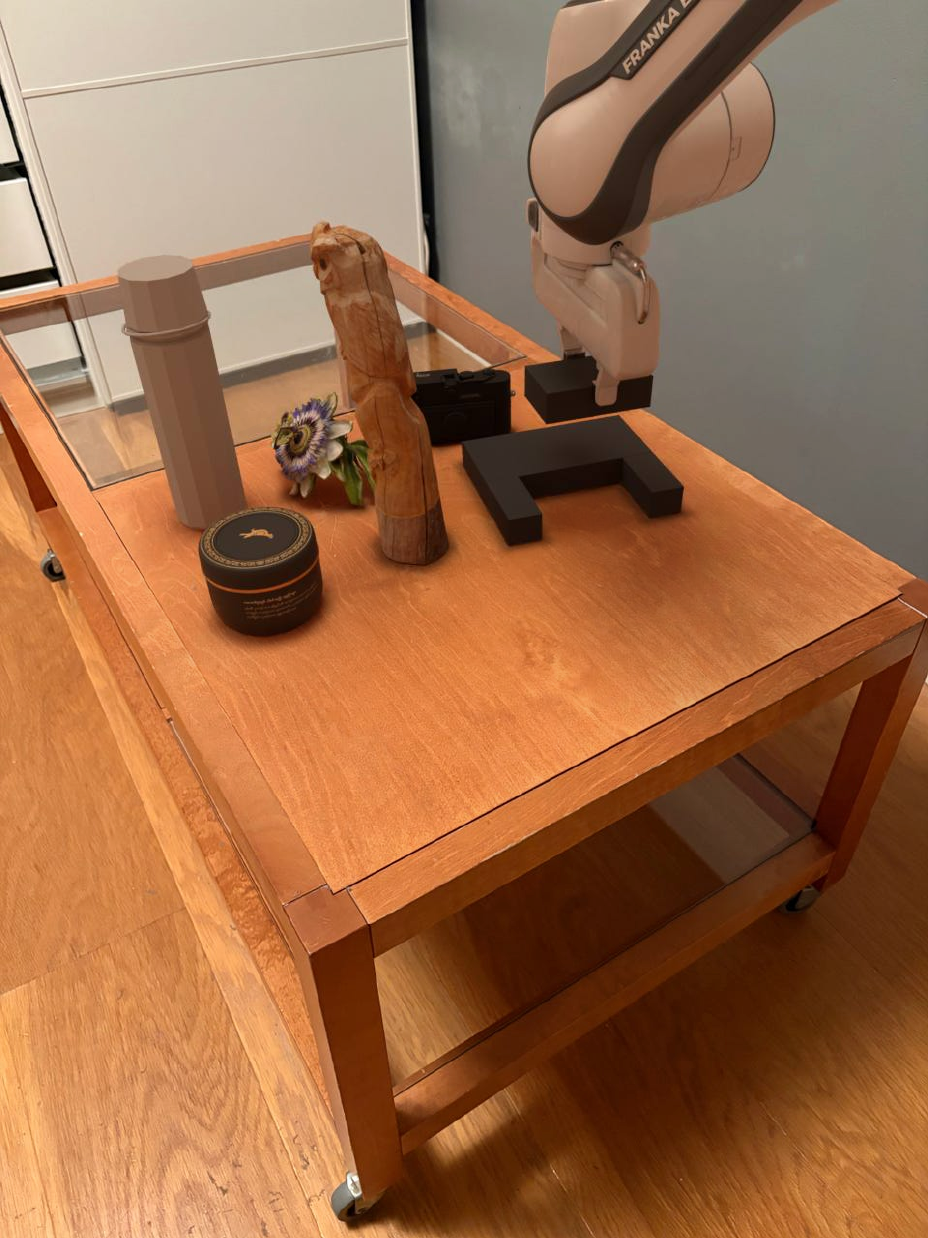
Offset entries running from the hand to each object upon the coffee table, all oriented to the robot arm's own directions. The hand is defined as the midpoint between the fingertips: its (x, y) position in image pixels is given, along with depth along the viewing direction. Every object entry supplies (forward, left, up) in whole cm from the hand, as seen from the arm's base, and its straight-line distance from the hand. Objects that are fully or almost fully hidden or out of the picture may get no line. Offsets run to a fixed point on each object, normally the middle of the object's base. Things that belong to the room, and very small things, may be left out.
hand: (587, 384), depth 86 cm
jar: (+32, +5, -14) cm, 35 cm away
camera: (+8, -21, -14) cm, 26 cm away
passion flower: (+22, -14, -14) cm, 30 cm away
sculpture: (+19, 0, -14) cm, 23 cm away
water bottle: (+35, -13, -14) cm, 40 cm away
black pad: (0, 0, -2) cm, 2 cm away
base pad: (0, -5, -14) cm, 15 cm away
